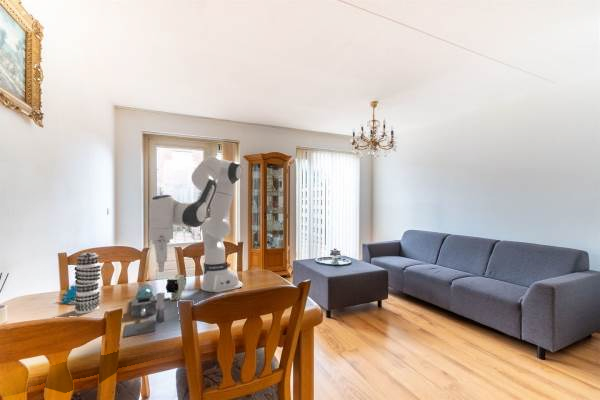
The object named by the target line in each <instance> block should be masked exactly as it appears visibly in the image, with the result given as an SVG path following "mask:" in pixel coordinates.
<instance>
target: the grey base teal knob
mask: <svg viewBox="0 0 600 400" xmlns="http://www.w3.org/2000/svg"><path fill="white" fill-rule="evenodd" d="M151 300H156V295H154V290H153V287H152V285H150V284H148V283H144V284H141V285H139V286H138V287H137V289H136V295H135V298H132V300H131V305H130V317H131V319H133V318H139V317H145V316H150V315H151V316H152V315H156V303H154V304H150V303H151Z"/></svg>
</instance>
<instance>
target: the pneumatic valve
mask: <svg viewBox="0 0 600 400" xmlns="http://www.w3.org/2000/svg"><path fill="white" fill-rule="evenodd" d="M186 286H187V278H186V275H185V274H175V275H173V276H171V277H169V278H168V279H167V280H166V285H165V289H166V293H168V294H169V293H171V295H170V296H171V297H170V301H178V300H180V299H181V298H182V297H181V296H182V290H183V289H184V288H186Z"/></svg>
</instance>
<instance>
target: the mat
mask: <svg viewBox="0 0 600 400" xmlns="http://www.w3.org/2000/svg"><path fill="white" fill-rule="evenodd" d="M155 323H156V319H153V320H146V321H141V322H134V323H129V324H124V330H123V335H122V338H123V337H124V338H129V337H132V336H133V337H134V336H139V335H143V334H148V333H154V332H155V331H156V330H155V329H156V328H155V327H156V326H155V325H156V324H155Z"/></svg>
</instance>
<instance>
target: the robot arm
mask: <svg viewBox="0 0 600 400" xmlns="http://www.w3.org/2000/svg"><path fill="white" fill-rule="evenodd" d="M242 173H243V167H242V165H241V164H240V163H239V162H237V161H231V160H227V159H220V158H219V157H218V156H216V155H208V156H206V157H205V158H204V159H203V160H202V161H201V162H200V163H199V164H198V165H197V166H196V168H195V169H194V170H193V171H192V174H191V181H192V184H193V185H194V187H195V188H197V189H198V190H199V191H200V193H199V195H198V197H197V198H196V200H195V201H193V202H190V203H187V202H186V203H183V202H179V201H178V200H175V199H174V198H173V196H172V195H170V194H160V195H155V196H153V197H152V198H151V200H150V203H149V213H148V214H149V215H148V216H149V217H148V218H149V226H148V240H149V241H152V242H151V243H152V244H153V245H154V252H155V260H156V263H157V267H158V273H163V272H164V270H165V263H166V262H168V244H170V242H171V240H173V239H174V226H186V227H191V228H199V227H200V231H201V233H202V241H203V247H204V248H203V249H204V255H203V256H204V262H203V267H202V272H203V278H202V283H201V287H200V290H202V291H205V292H211V293H222V292H227V291H232V290H234V289H239V288H240V287H241V288H243V282H242V281H240V280H239V277H238V274H237V273H236V272H235V271H233V270H232V269H231V268H230V267H231V266H232V264H231V263H230V262H227V261H226V247H225V245H224V239H225V238H227V237H228V236H229V235H230V234H231V231H232V228H231V224H230V222H231V221H230V219H231V218H230V217H231V216H230V215H231V206H232V202H233V197H234V193H235V184H236V182H237V181H238V180H239V179H241V176H242ZM209 208H210V217H208V218H207V215H208V211H209ZM241 288H240V289H241Z"/></svg>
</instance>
